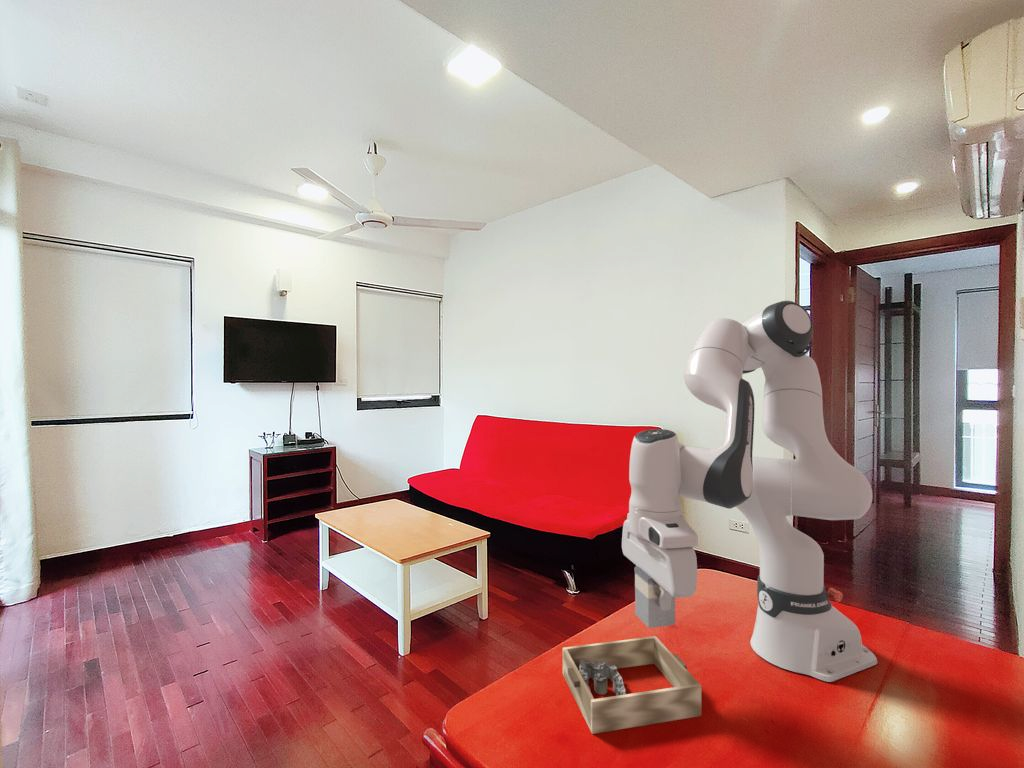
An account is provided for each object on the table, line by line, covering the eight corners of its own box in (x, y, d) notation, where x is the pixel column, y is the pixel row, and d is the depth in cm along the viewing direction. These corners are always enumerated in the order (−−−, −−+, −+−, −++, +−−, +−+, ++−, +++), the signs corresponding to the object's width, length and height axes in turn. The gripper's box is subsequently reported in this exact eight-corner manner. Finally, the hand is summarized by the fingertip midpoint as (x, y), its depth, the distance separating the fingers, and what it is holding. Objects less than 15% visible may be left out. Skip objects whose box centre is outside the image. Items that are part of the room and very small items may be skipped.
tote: (659, 660, 91) (659, 635, 91) (706, 715, 77) (706, 684, 77) (558, 674, 87) (558, 648, 87) (586, 734, 73) (586, 703, 72)
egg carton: (628, 722, 76) (628, 697, 76) (581, 719, 76) (581, 694, 76) (619, 679, 86) (619, 657, 86) (578, 677, 87) (578, 655, 87)
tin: (634, 613, 85) (634, 567, 85) (660, 610, 86) (660, 564, 86) (648, 628, 80) (648, 578, 80) (675, 625, 81) (675, 576, 81)
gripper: (613, 507, 92) (613, 576, 92) (668, 542, 72) (667, 631, 72) (643, 505, 93) (643, 574, 94) (704, 539, 73) (704, 627, 73)
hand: (654, 599), depth 83 cm, fingers closed on tin, 5 cm apart
